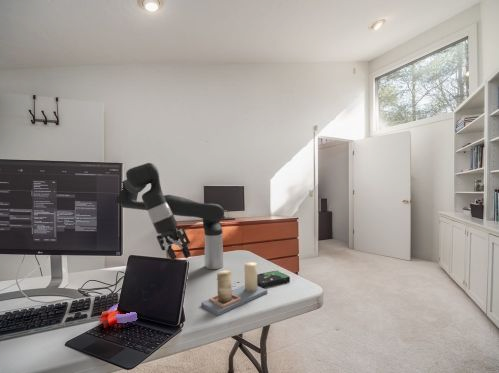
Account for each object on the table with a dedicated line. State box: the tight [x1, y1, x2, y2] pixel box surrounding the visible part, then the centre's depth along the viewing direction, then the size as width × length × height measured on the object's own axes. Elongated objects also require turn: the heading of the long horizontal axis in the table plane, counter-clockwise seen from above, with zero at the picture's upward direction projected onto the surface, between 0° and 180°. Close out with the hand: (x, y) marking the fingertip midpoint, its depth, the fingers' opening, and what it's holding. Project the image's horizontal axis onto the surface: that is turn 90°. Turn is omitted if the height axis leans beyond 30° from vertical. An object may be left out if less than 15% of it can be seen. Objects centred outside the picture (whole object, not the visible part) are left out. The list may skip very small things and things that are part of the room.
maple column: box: [216, 269, 232, 303], centre depth 93 cm, size 5×5×10 cm
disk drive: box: [257, 270, 291, 289], centre depth 113 cm, size 10×3×15 cm
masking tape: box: [107, 303, 138, 323], centre depth 84 cm, size 12×12×4 cm
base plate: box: [200, 262, 268, 316], centre depth 96 cm, size 10×24×11 cm, turn 133°
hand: (181, 258), depth 93 cm, fingers open, 8 cm apart
